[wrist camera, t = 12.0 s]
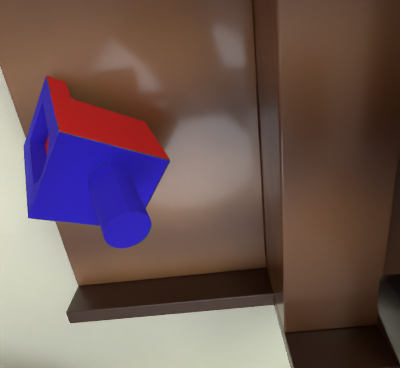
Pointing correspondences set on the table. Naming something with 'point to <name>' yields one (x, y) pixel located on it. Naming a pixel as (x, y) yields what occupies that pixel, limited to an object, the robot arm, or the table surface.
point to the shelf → (238, 157)
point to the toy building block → (91, 166)
